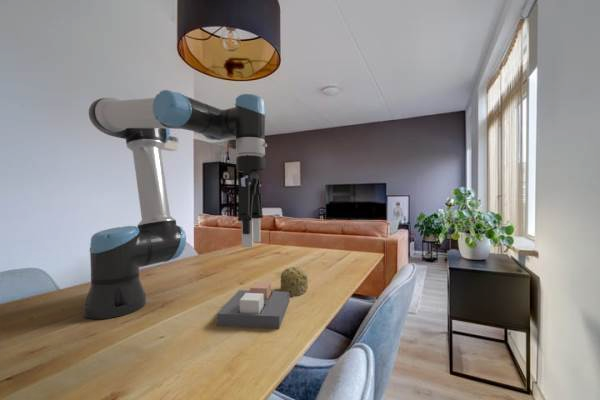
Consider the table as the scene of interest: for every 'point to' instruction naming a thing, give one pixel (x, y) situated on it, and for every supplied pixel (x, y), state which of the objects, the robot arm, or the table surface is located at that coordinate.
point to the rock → (294, 281)
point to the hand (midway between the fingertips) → (251, 244)
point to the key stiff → (261, 289)
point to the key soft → (252, 303)
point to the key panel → (265, 319)
